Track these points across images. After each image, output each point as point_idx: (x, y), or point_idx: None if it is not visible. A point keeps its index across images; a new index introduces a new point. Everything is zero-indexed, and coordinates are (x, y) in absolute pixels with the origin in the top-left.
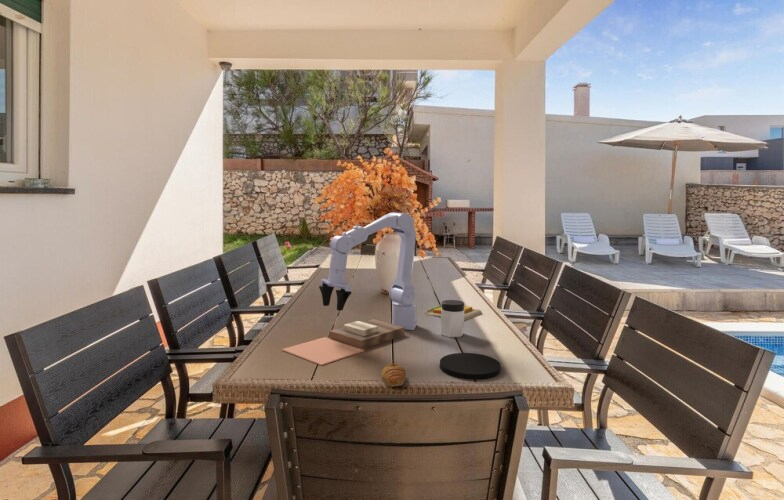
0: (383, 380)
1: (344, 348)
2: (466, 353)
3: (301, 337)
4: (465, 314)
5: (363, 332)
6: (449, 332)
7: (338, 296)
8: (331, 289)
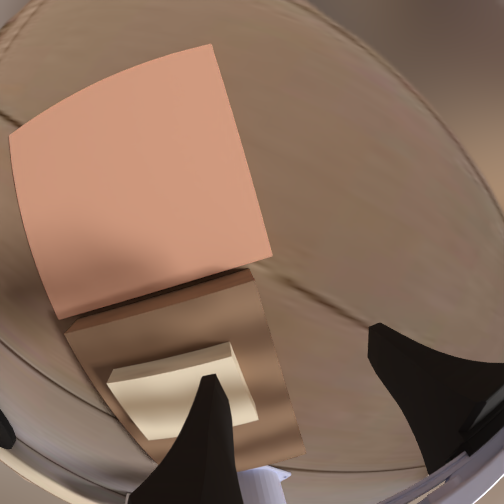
0: None
1: (91, 267)
2: (9, 441)
3: (333, 171)
4: None
5: (109, 378)
6: (126, 500)
7: (176, 468)
8: (427, 448)
